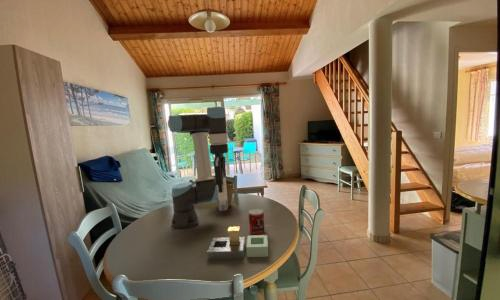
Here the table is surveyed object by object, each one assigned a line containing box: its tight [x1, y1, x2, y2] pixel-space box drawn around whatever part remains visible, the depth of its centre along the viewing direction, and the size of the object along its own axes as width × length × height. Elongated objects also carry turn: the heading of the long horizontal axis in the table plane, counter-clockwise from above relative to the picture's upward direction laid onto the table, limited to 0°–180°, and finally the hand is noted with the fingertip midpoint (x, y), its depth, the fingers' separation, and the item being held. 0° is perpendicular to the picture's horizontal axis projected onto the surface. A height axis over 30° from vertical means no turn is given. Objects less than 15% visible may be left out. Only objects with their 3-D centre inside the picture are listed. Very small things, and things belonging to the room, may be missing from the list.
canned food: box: [248, 208, 265, 235], centre depth 122 cm, size 8×8×11 cm
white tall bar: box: [217, 173, 229, 212], centre depth 101 cm, size 4×4×17 cm
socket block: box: [206, 236, 246, 261], centre depth 105 cm, size 12×15×4 cm
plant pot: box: [216, 180, 235, 207], centre depth 162 cm, size 15×15×16 cm
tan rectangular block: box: [227, 226, 241, 246], centre depth 104 cm, size 4×5×10 cm
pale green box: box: [245, 234, 269, 258], centre depth 104 cm, size 10×9×4 cm
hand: (222, 197), depth 102 cm, fingers closed on white tall bar, 4 cm apart
